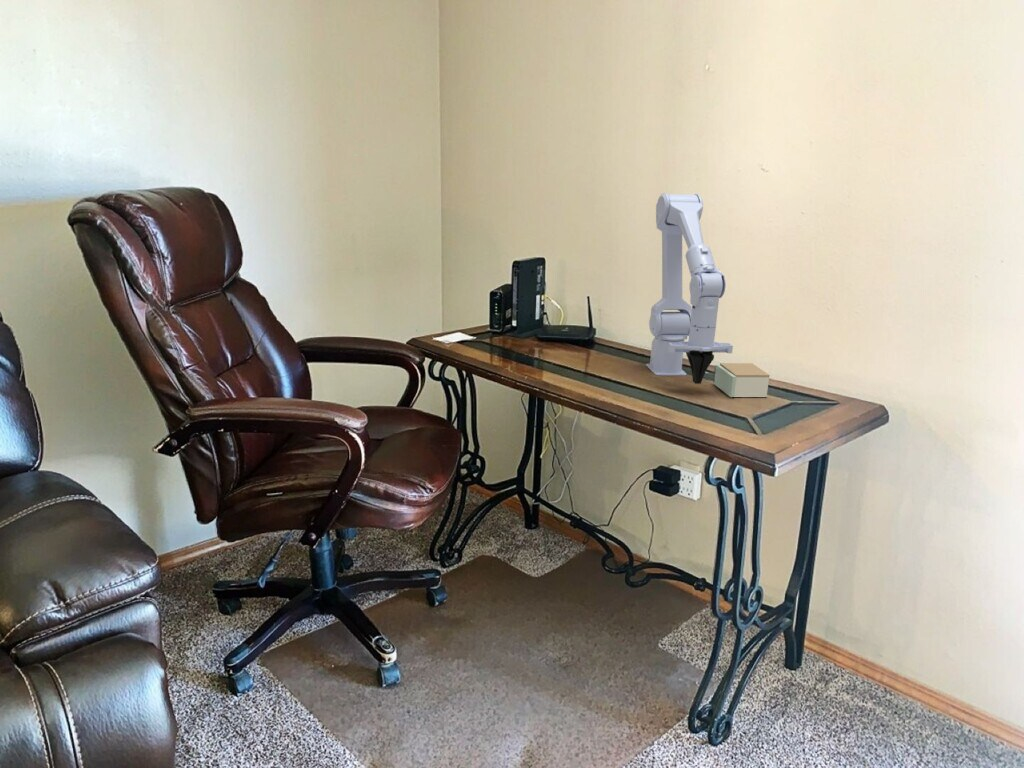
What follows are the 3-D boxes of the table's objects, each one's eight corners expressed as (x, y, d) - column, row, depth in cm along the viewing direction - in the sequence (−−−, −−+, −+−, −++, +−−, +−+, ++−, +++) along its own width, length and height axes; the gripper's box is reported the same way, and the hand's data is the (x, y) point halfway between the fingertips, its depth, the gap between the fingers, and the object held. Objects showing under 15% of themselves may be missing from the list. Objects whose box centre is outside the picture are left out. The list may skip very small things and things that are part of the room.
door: (712, 382, 190) (714, 363, 189) (716, 382, 191) (718, 363, 189) (730, 397, 180) (732, 377, 179) (734, 397, 180) (736, 376, 179)
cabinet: (717, 385, 190) (720, 363, 189) (749, 385, 191) (752, 363, 190) (733, 398, 181) (735, 375, 179) (766, 398, 182) (769, 375, 180)
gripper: (677, 329, 174) (671, 387, 178) (740, 329, 176) (733, 387, 180) (668, 322, 181) (662, 378, 185) (728, 322, 183) (722, 378, 187)
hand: (696, 382), depth 183 cm, fingers closed
